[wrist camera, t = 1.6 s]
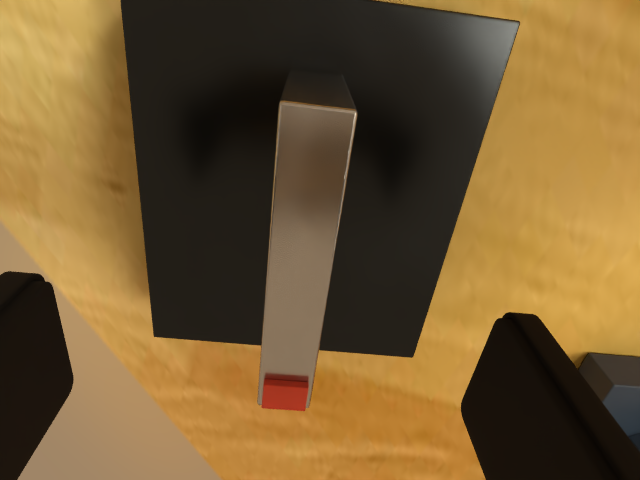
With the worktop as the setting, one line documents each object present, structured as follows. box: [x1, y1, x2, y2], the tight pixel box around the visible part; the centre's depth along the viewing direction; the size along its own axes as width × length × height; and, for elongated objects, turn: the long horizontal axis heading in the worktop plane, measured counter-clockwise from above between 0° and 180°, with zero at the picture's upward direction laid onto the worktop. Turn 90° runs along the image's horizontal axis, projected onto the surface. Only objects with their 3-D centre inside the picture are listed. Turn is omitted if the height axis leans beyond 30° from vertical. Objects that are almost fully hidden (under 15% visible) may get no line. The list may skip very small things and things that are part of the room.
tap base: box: [121, 0, 520, 358], centre depth 16 cm, size 13×11×3 cm
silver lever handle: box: [257, 70, 358, 411], centre depth 12 cm, size 9×2×5 cm, turn 173°
